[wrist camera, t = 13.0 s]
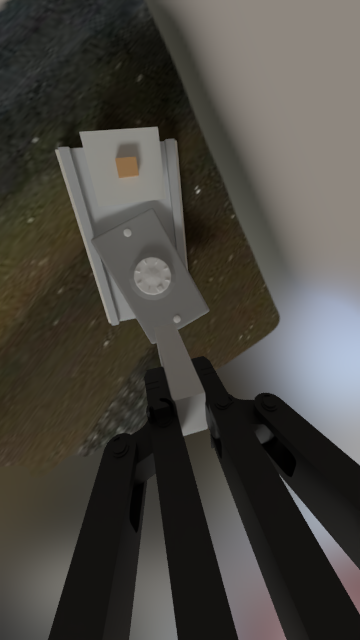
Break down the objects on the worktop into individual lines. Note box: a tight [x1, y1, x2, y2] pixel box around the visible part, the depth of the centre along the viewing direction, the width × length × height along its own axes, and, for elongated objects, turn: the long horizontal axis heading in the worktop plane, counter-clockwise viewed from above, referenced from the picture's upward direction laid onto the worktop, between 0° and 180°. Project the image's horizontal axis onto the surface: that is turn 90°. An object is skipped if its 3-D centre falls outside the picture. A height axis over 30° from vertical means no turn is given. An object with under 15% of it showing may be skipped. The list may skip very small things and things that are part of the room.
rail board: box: [55, 127, 188, 326], centre depth 25 cm, size 13×21×10 cm, turn 6°
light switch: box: [91, 208, 209, 344], centre depth 28 cm, size 8×6×14 cm
